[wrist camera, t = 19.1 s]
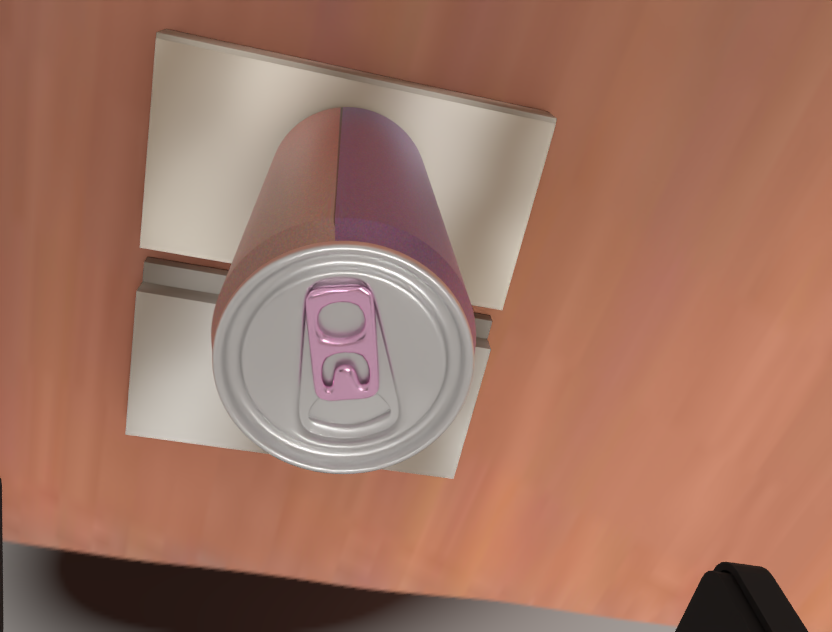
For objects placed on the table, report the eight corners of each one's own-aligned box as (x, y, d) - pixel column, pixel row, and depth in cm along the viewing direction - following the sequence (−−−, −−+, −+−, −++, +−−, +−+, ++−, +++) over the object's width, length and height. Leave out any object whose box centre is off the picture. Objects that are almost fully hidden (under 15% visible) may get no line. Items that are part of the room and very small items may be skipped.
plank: (547, 111, 31) (557, 118, 30) (495, 295, 34) (502, 310, 33) (166, 28, 29) (156, 32, 27) (149, 234, 32) (139, 247, 30)
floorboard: (490, 315, 35) (496, 331, 33) (449, 458, 38) (453, 478, 36) (147, 256, 32) (137, 270, 31) (134, 414, 35) (125, 434, 34)
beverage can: (422, 99, 29) (484, 227, 15) (427, 249, 31) (483, 472, 18) (262, 107, 28) (179, 244, 15) (280, 258, 31) (223, 491, 17)
